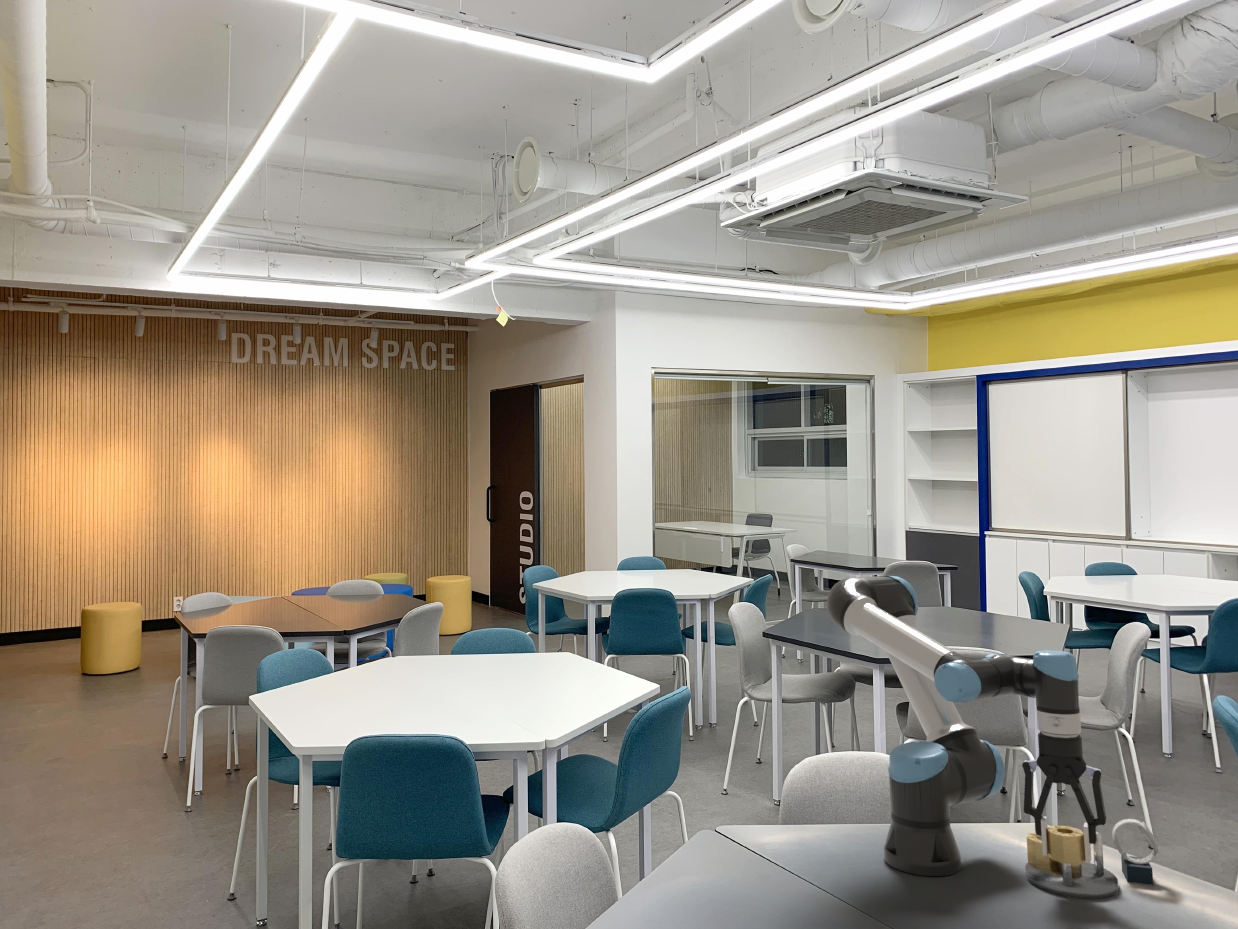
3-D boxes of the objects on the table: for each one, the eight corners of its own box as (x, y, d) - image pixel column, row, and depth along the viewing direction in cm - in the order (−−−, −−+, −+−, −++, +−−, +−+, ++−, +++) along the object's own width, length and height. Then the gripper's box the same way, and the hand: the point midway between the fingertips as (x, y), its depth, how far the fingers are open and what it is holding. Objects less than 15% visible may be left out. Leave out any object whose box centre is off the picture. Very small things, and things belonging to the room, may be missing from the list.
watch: (1165, 886, 163) (1161, 827, 164) (1117, 881, 166) (1113, 823, 166) (1158, 875, 168) (1154, 818, 169) (1111, 870, 171) (1108, 814, 172)
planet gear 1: (1026, 865, 170) (1025, 840, 170) (1030, 855, 175) (1029, 830, 175) (1060, 871, 167) (1058, 845, 167) (1063, 861, 172) (1062, 836, 172)
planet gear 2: (1054, 863, 159) (1052, 835, 160) (1045, 851, 165) (1043, 825, 165) (1089, 865, 158) (1087, 837, 158) (1079, 853, 164) (1077, 826, 164)
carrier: (1020, 887, 163) (1017, 837, 164) (1031, 859, 177) (1029, 813, 178) (1115, 906, 155) (1112, 853, 155) (1120, 875, 168) (1117, 827, 169)
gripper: (1001, 731, 166) (1008, 853, 164) (1116, 743, 155) (1125, 874, 153) (1007, 724, 172) (1014, 841, 170) (1118, 734, 161) (1127, 860, 159)
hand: (1066, 856), depth 162 cm, fingers closed on planet gear 2, 6 cm apart
